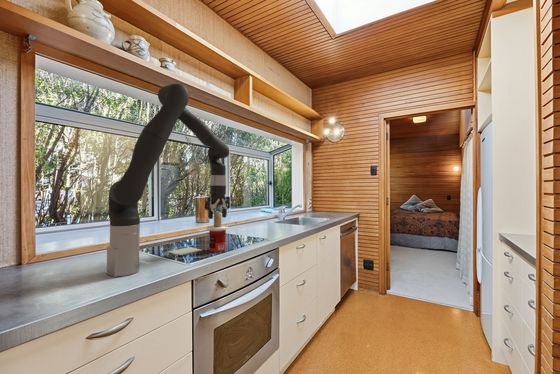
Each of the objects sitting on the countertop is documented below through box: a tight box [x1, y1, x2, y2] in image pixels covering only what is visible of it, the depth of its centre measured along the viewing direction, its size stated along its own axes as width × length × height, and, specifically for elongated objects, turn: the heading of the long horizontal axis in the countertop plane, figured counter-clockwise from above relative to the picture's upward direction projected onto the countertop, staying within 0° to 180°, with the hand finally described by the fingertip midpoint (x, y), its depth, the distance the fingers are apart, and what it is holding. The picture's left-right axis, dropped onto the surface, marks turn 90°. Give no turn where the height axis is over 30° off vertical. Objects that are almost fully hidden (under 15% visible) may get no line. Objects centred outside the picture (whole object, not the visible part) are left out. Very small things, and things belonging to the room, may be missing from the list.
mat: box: [168, 246, 202, 256], centre depth 122 cm, size 12×10×1 cm
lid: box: [206, 211, 229, 231], centre depth 124 cm, size 10×10×8 cm
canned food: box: [208, 229, 227, 253], centre depth 124 cm, size 8×8×11 cm
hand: (217, 218), depth 124 cm, fingers open, 8 cm apart
